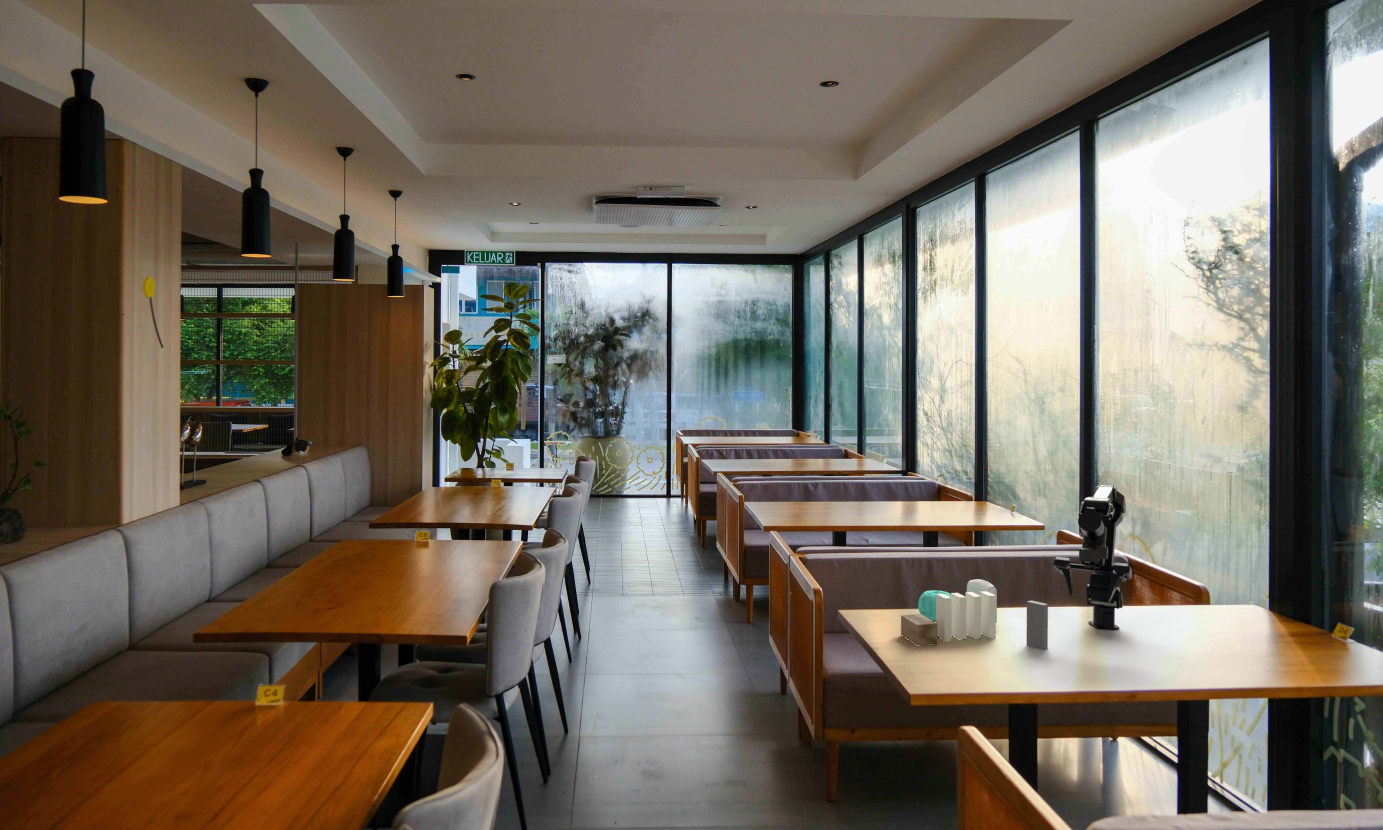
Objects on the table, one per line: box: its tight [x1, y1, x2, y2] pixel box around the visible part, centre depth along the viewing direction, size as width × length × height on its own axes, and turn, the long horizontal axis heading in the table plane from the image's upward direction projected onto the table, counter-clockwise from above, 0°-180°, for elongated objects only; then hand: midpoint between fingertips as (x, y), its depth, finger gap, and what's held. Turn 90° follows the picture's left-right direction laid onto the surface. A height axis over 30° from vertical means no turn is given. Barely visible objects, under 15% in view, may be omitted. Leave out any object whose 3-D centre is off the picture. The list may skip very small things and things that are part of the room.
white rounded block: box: [966, 578, 998, 624], centre depth 252 cm, size 10×4×12 cm, turn 20°
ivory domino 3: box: [965, 591, 982, 640], centre depth 236 cm, size 2×5×12 cm, turn 11°
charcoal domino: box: [1026, 600, 1049, 651], centre depth 227 cm, size 2×5×12 cm, turn 35°
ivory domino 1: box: [936, 594, 952, 642], centre depth 235 cm, size 2×5×12 cm, turn 11°
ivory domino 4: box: [980, 591, 997, 639], centre depth 237 cm, size 2×5×12 cm, turn 11°
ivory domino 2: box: [950, 592, 967, 641], centre depth 235 cm, size 2×5×12 cm, turn 11°
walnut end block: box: [900, 613, 938, 646], centre depth 233 cm, size 6×10×6 cm, turn 11°
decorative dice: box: [917, 589, 951, 622], centre depth 254 cm, size 8×8×8 cm
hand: (1089, 598), depth 224 cm, fingers open, 9 cm apart
